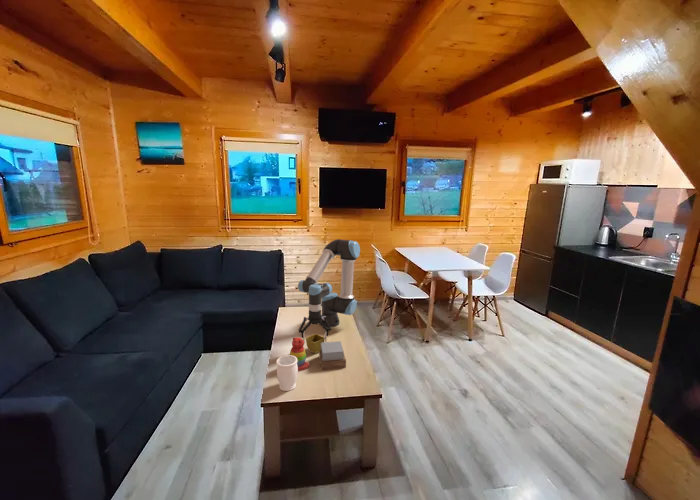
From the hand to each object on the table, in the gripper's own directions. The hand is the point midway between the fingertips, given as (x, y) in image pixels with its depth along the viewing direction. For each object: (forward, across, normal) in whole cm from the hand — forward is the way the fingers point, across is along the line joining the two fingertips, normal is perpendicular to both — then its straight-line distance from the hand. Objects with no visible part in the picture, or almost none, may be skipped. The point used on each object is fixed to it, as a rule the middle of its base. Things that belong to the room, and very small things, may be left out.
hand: (314, 341), depth 196 cm
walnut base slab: (+7, +9, -14) cm, 18 cm away
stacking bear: (+7, -11, -15) cm, 20 cm away
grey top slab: (+2, +9, -14) cm, 16 cm away
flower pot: (+7, 0, 0) cm, 7 cm away
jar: (+7, -17, -33) cm, 37 cm away
